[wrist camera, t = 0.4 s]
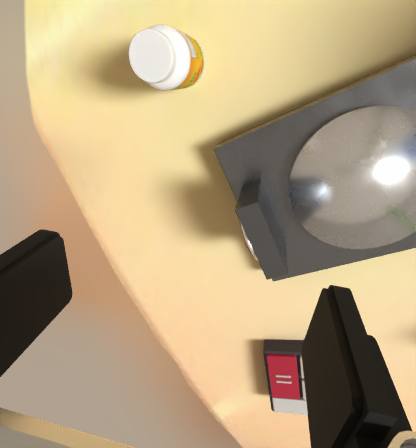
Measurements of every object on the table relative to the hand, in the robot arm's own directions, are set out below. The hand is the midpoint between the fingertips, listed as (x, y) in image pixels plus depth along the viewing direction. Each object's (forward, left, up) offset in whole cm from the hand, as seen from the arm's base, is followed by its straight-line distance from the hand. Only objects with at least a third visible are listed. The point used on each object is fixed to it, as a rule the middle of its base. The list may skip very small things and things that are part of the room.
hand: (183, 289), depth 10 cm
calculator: (+7, +41, -29) cm, 51 cm away
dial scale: (-8, +9, -29) cm, 31 cm away
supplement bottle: (+4, -11, -29) cm, 31 cm away
